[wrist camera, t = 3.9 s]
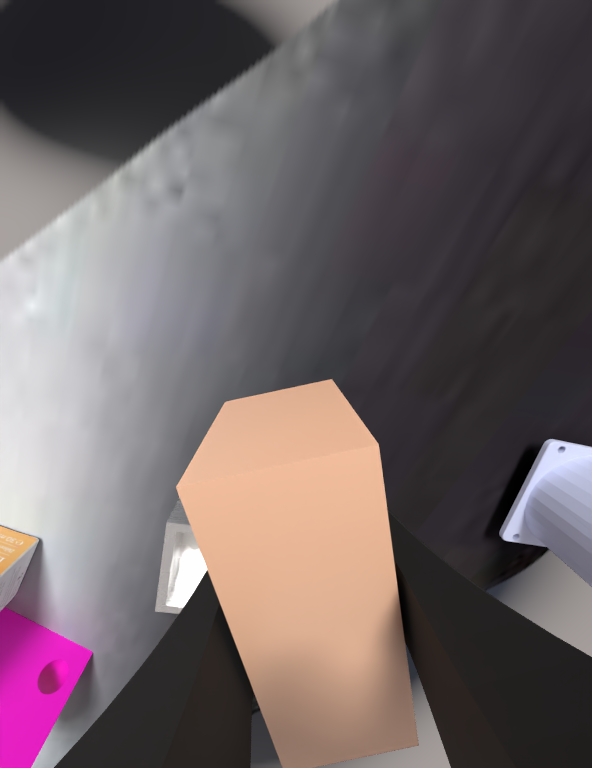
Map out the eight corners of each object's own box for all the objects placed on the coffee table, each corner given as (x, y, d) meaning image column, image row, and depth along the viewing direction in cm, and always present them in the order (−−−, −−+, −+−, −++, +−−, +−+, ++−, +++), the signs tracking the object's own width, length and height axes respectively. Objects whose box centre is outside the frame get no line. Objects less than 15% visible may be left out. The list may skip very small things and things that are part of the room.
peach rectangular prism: (331, 379, 10) (378, 444, 5) (366, 581, 13) (418, 745, 8) (225, 401, 10) (176, 487, 5) (282, 599, 13) (285, 773, 8)
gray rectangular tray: (363, 521, 20) (375, 550, 18) (338, 595, 22) (345, 630, 20) (181, 494, 19) (166, 522, 16) (169, 576, 21) (155, 611, 18)
